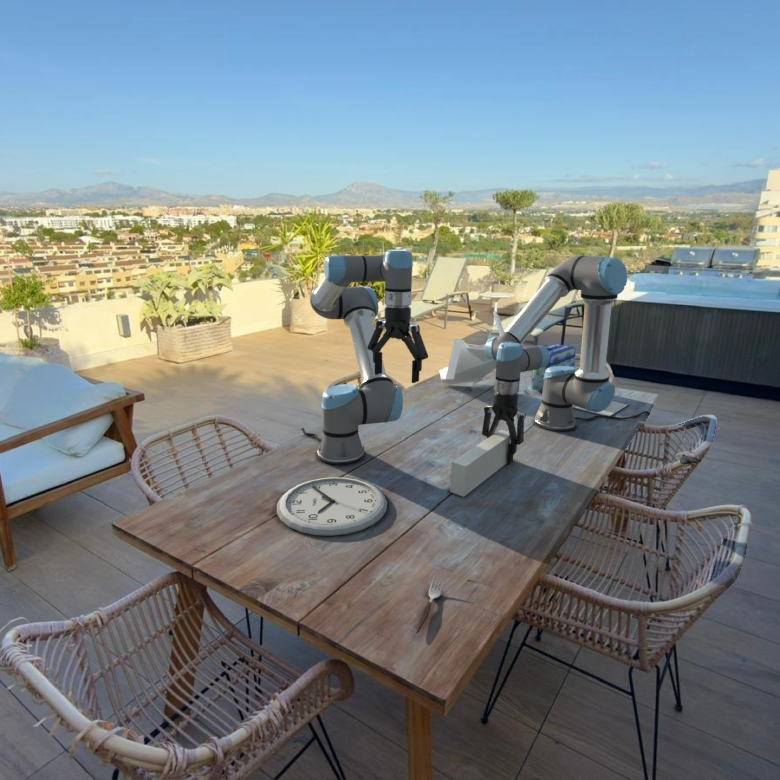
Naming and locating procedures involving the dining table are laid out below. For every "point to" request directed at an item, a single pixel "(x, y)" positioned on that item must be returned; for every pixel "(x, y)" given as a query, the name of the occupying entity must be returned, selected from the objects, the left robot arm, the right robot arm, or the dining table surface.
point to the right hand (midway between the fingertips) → (500, 459)
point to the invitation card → (608, 408)
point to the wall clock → (331, 506)
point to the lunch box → (553, 363)
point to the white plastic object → (472, 363)
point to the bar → (479, 463)
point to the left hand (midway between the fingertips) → (396, 377)
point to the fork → (433, 594)
